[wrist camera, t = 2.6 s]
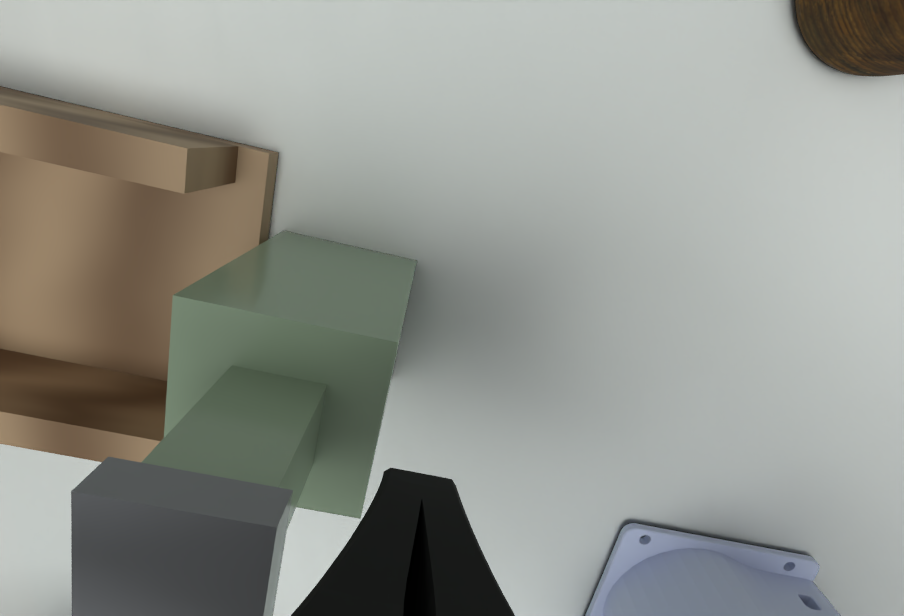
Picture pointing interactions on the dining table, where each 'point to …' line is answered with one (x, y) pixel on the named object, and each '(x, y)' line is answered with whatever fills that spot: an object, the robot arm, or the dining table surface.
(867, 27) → the utensil holder
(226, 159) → the cradle
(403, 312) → the bottle
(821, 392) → the dining table surface
